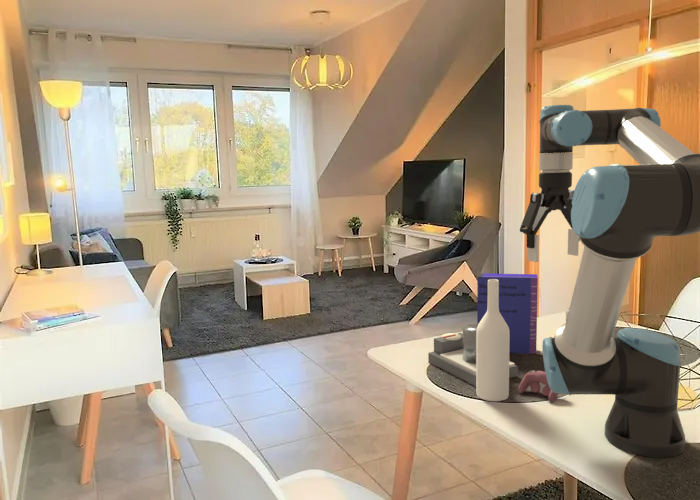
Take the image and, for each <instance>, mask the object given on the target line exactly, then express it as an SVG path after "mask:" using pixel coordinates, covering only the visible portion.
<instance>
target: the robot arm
mask: <svg viewBox="0 0 700 500" xmlns="http://www.w3.org/2000/svg"><path fill="white" fill-rule="evenodd" d="M658 112H659V111H657V110H656V109H654V108H647V107H646V108H644V107H635V108H620V109H619V108H617V109H600V110H599V109H597V110H596V109H595V110H594V109H590V110H578V109H574V107H573V105H571V104H553V105H546V106H543V107H542V108H541V110H540V114H539V115H540V116H539V166H538V169H539V170H540V171H541V172H540V173H539V174H538V187H539V188H540V190H541V191H540V192H531V193H530V195H529V196H530V197H529V204H528V206H527V209H526V211H525V214H524V217H523V219H522V223H521V225H520V228H519V231H520V233H522V234H524V235H526V248H527V261H528V262H534V263H539V254H540V253H539V251H540V250H539V249H540V247H539V245H540V235H539V234H538V231H539V230H540V228H541V226H543V224H544V221H545V219H546V218H547V216H548V214H550V213H551V212H552V211H557V210H559V211H560V212H561V214H562V215H563V217H564V218H565V219H566V222H567V223H568V225H569V226H570V228H568V229H567V231H568V232H567V255H570V256H576V257H577V256H579V249H580V248H579V246H580V245H579V242H581V244H582V245H583V246H584V247H583V250H582V256H581V259H580V263H579V268H578V271H577V276H576V280H575V284H574V288H573V292H572V293H573V294H572V297H571V302H570V305H569V308H570V309H569V313H568V317H567V322H566V321H565V323H563V324H562V325H560V326H559V327H558V328H557V330H556V332H555V334H554V337H553V336H549V337H546V338H544V339H543V340H542V345H541V346H542V348H541V349H542V360H543V367H544V372H545V373H546V378H547V382H548V385H549V387H550V389H551V390H552V391H553V392H554V393H558V395H559V394H560V395H568V396H571V395H612V396H613V395H615V396H614V402H613V404H612V406H611V409H610V410H609V414H608V415H607V418H606V420H605V422H604V423H605V424H604V436H605V438H606V440H607V441H608V442H609V443H610V444H612V445H613V446H615V447H617V448H619V449H620V450H622V451H625V452H627V453H631V454H634V455H638V456H642V457H646V458H647V457H649V458H670V457H675V456H678V455H680V454H682V453H683V452H684V451H685V447H686V446H685V445H686V434H685V431H684V428H683V426H682V425H683V424H682V421H681V418H680V415H679V412H678V401H679V387H680V374H681V373H680V372H681V366H682V362H681V347H680V345H679V344H678V342H677V341H676V340H674V339H673V338H671V337H669V336H667V335H665V334H662V333H659V332H656V331H651V330H648V329H641V328H635V327H634V328H633V327H632V328H631V327H625V328H620V329H619V330H618V331H617V333H616V337H613V333H614V330H615V327H616V324H617V321H618V318H619V315H620V312H621V308H622V305H623V302H624V299H625V297H626V296H625V295H626V293H627V290H628V287H629V285H630V284H629V283H630V281H631V277H632V274H633V271H634V268H635V265H636V261H637V259H639V258H641V257H643V256H645V255H647V253H649V251H650V249H651V248H652V244H653V243H654V240H655V237H656V238H657V237H676V236H677V237H678V236H679V237H680V236H688V235H694V234H697V233H699V232H700V153H696V152H695V153H694V152H693V151H692V150H691V149H689V148H688V147H687V146H686V145H684V144H683V143H682V142H680V141H679V140H677V139H676V138H675V137H673V136H672V135H671V134H669V133H668V132H667V131H666V130H665V129H663V128H662V127H661V126H662V125H661V123H662V122H661V117H660V116H659V113H658ZM595 145H596V146H599V145H601V146H602V145H603V146H605V145H606V146H607V145H608V146H609V145H619V146H620V147H621V148H622V149H624V150H625V152H626V153H628V155H630V156H631V158H632V159H633V160H634V161H635V162H637V164H627V165H626V164H625V165H624V164H623V165H622V164H619V163H612V164H609V165H602V166H600V165H598V166H593V167H591V168H588V169H587V170H585V171H584V172H583V173H582V174H581V176H580V177H579V179H578V181H577V182H576V185H575V187H574V189H570V188H572V186H573V185H572V184H573V173H572V172H571V170H572V169H573V167H574V166H573V165H574V164H573V162H574V161H573V159H574V157H573V155H574V154H573V150H574V148H573V147H578V146H579V147H581V146H595Z"/></svg>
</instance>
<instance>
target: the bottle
mask: <svg viewBox="0 0 700 500" xmlns="http://www.w3.org/2000/svg"><path fill="white" fill-rule="evenodd" d="M509 344H510V331H509V327H508V325H507V324H506V322H505V320H504V319H503V317H502V315H501V314H500V312H499V280H497V279H489V280H488V306H487V312H486V314H485V315H484V317H483V318H482V319H481V321H480V323H479V324H478V326H477V331H476V386H475V387H476V388H475V390H476V391H475V392H476V393H475V394H476V396H477V398H479V399H482V400H483V401H488V402H502V400H503V401H505V400H507V399H508V398H509V396H510V379H509V361H510V353H509Z"/></svg>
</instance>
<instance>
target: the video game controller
mask: <svg viewBox="0 0 700 500" xmlns="http://www.w3.org/2000/svg"><path fill="white" fill-rule="evenodd" d="M540 384H544V386H543V387H542V388H541V385H540ZM528 388H530V391H531V392H532V393H537V394H538V393H539V392H540V391H541V393H542V394H543V396H545V397H548V402H549V403H553V402H555V400H556V399H557V397H558V396H559V394H558V393H554V392H553V391H552V390H551V389H550V387H549V385H548V382H547V378H546V373H545V371H543V370H529V371H528V372H527V373H525V375H524V376H523V378H522V379H521V381H520V383H519V385H518V388H517V391H518V393H519V394H523V393H524V392H525V391H526V390H527V389H528Z"/></svg>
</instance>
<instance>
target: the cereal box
mask: <svg viewBox="0 0 700 500" xmlns="http://www.w3.org/2000/svg"><path fill="white" fill-rule="evenodd" d="M538 278H539V277H538V274H536V273H535V274H533V273H477V283H476V284H477V285H476V286H477V296H476V297H477V298H476V299H477V301H476V302H477V303H476V305H477V306H476V307H477V310H476V311H477V312H476V313H477V315H476V316H477V318H476V319H477V322H476V324H479V323H480V321H481V319H482V318H483V317H484V315H485V314H486V312H487V306H488V280H489V279H497V280H499V312H500V314H501V315H502V317H503V319H504V320H505V322H506V324H507V325H508V327H509V331H510V344H509V354H515V355H516V354H517V355H534V354H535V355H537V335H538V334H537V333H538V328H537V327H538V325H537V323H538V289H539V288H538Z"/></svg>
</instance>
